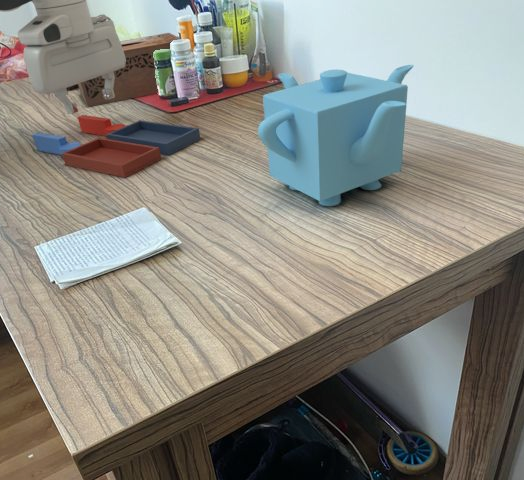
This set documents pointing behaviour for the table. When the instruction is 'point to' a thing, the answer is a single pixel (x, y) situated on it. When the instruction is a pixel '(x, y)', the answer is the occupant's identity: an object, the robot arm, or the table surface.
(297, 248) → the table surface
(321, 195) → the teakettle
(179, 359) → the table surface
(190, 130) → the blue tray
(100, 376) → the table surface
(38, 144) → the blue stepped block
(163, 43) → the tissue box cover
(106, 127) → the red block with disc
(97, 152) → the red tray
